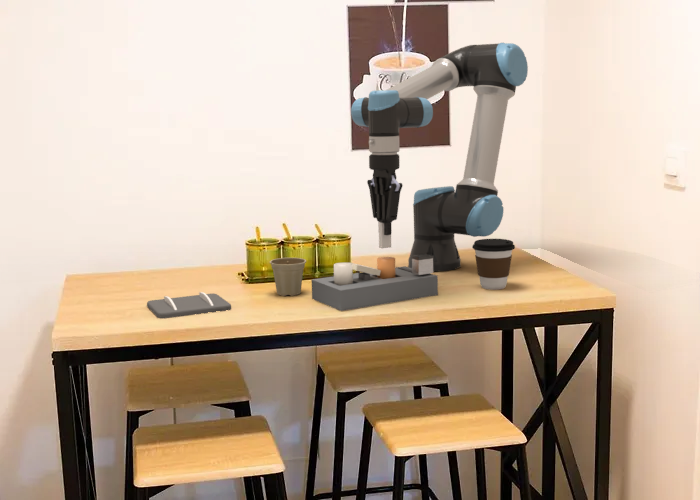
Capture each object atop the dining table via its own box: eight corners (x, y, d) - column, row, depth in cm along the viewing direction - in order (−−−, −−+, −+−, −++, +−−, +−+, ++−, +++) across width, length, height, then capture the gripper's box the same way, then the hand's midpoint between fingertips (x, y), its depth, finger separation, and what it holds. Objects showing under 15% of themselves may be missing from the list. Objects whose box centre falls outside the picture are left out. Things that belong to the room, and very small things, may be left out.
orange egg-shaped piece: (374, 281, 234) (373, 258, 233) (389, 278, 236) (389, 256, 235) (383, 284, 230) (383, 260, 229) (399, 282, 232) (398, 258, 231)
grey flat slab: (215, 287, 236) (232, 299, 222) (216, 299, 237) (233, 311, 223) (145, 295, 229) (158, 307, 215) (146, 307, 230) (159, 321, 216)
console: (312, 298, 232) (311, 274, 230) (405, 284, 245) (404, 261, 244) (341, 310, 219) (340, 284, 218) (437, 295, 232) (437, 270, 231)
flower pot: (312, 290, 241) (311, 258, 240) (299, 298, 232) (298, 265, 231) (279, 288, 244) (278, 256, 243) (265, 296, 235) (263, 263, 234)
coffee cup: (519, 284, 242) (519, 239, 240) (508, 293, 233) (508, 246, 230) (479, 281, 247) (479, 237, 245) (466, 290, 237) (466, 244, 235)
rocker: (347, 267, 229) (348, 262, 229) (370, 272, 233) (371, 267, 233) (356, 270, 225) (357, 264, 225) (379, 275, 229) (380, 270, 229)
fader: (411, 273, 233) (411, 255, 232) (426, 270, 235) (426, 253, 234) (418, 275, 230) (418, 257, 229) (433, 272, 232) (433, 255, 232)
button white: (331, 287, 228) (330, 263, 227) (347, 285, 230) (346, 261, 229) (340, 291, 224) (339, 266, 223) (356, 288, 226) (355, 264, 225)
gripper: (357, 152, 231) (359, 245, 235) (385, 155, 220) (386, 252, 224) (383, 151, 234) (384, 242, 239) (411, 154, 223) (411, 249, 227)
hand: (385, 247), depth 231 cm, fingers closed
